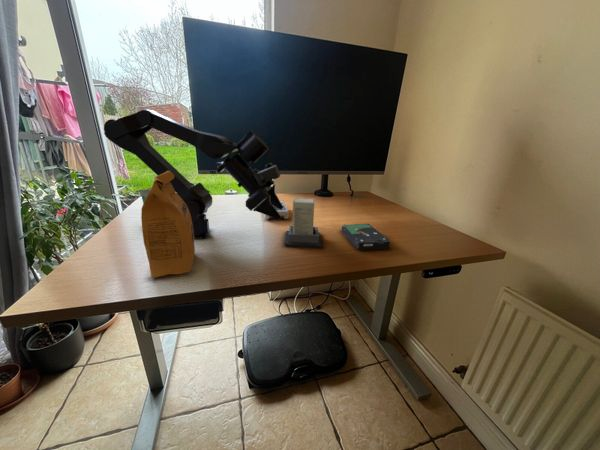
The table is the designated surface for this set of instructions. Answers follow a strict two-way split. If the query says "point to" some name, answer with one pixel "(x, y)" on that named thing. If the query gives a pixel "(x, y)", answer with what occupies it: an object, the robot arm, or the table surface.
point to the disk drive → (365, 237)
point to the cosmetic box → (303, 216)
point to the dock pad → (303, 239)
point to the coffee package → (167, 229)
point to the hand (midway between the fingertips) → (280, 212)
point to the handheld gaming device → (280, 212)
